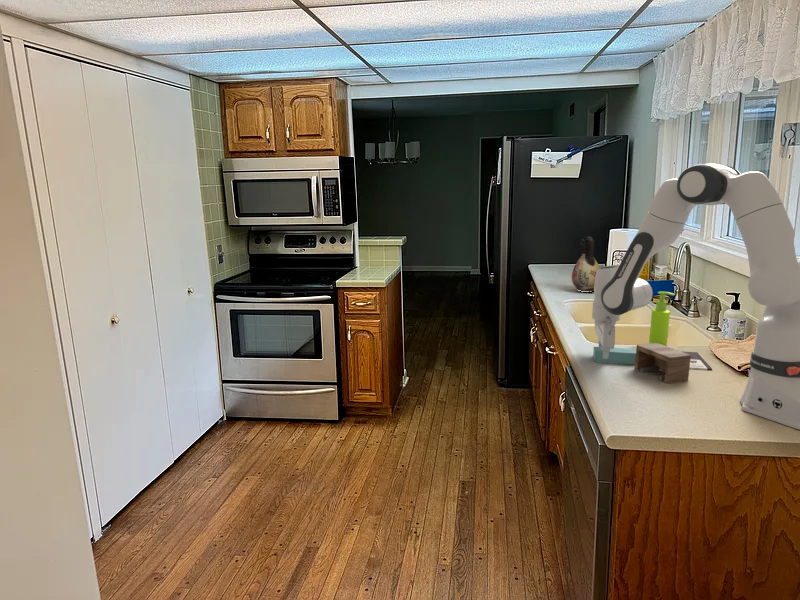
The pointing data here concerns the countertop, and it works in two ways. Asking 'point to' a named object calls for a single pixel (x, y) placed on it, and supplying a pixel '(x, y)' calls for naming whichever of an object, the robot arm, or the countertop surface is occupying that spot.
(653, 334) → the soap dispenser
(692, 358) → the chocolate bar
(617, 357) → the case
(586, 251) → the ceramic jug
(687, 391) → the countertop surface
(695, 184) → the robot arm
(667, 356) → the shelf
